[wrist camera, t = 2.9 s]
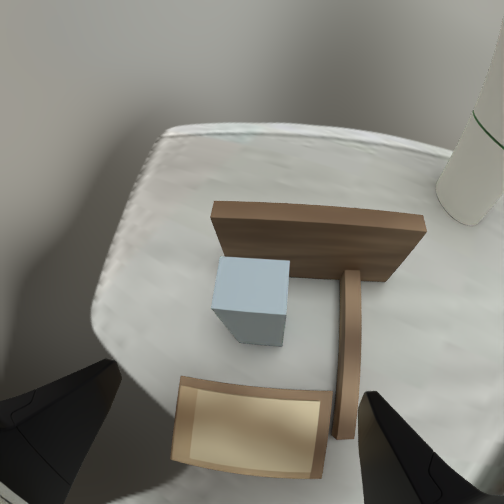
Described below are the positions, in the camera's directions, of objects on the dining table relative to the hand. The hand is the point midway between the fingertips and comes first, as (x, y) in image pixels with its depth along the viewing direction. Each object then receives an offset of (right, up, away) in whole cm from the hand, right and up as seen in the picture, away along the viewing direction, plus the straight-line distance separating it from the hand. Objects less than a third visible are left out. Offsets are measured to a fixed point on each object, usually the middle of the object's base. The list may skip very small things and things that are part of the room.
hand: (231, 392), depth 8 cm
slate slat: (+1, -1, +12) cm, 12 cm away
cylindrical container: (+25, +11, +16) cm, 31 cm away
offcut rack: (+3, -4, +10) cm, 12 cm away
